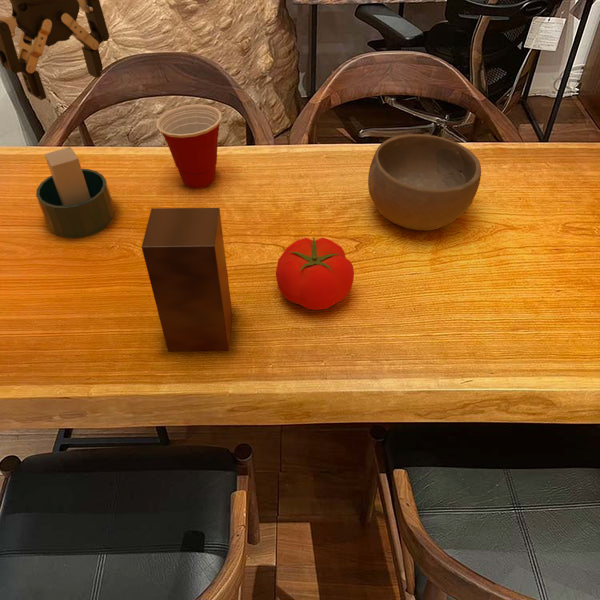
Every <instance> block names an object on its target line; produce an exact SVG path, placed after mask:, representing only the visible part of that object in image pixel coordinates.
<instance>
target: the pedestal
mask: <svg viewBox="0 0 600 600" xmlns="http://www.w3.org/2000/svg"><path fill="white" fill-rule="evenodd" d="M220 209H221V208H220V207H166V208H165V207H161V208H160V207H156V208H155V207H154V208H151V209H150V213H149V215H148V216H149V217H148V221H147V225H146V227H145V232H144V236H143V239H142V243H141V252H142V255H143V259H144V262H145V263H144V264H145V266H146V271H147V275H148V279H149V282H150V283H149V284H150V286H151V290H152V294H153V298H154V302H155V305H156V311H157V315H158V317H159V321H160V326H161V330H162V333H163V337H164V342H165V346H166V350H167V352H206V351H207V352H217V351H218V352H222V351H226V352H227V351H229V350H230V343H231V342H230V341H231V329H232V317H233V309H232V308H233V307H232V301H231V299H232V298H231V292H230V285H229V275H228V266H227V259H226V258H227V257H226V251H225V241H224V233H223V226H222V218H221V210H220Z"/></svg>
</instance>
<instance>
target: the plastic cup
mask: <svg viewBox="0 0 600 600" xmlns="http://www.w3.org/2000/svg"><path fill="white" fill-rule="evenodd" d="M221 122H222V112H221V111H220V110H219V109H218V108H217V107H214V106H211V105H207V104H188V105H182V106H178V107H176V108H172V109H169V110H168V111H166V112H164V113H162V114H161V116H159V118H158V119H157V120H156V125H155V127H156V128H157V130H158V131H159V133H161V135H162V136H163V138H164V140H165V142H166V144H167V146H168V149H169V152H170V155H171V158H172V159H173V162H174V164H175V167H176V168H177V170H178V173H179V177H180V179H181V181H182V183H183V184H184V185H185V186H186V187H188V188H191V189H203V188H206V187H207V188H208V187H209V186H210V185H212V184H213V183H214V181H216V173H217V171H216V170H217V163H218V144H219V143H218V142H219V131H220V124H221Z"/></svg>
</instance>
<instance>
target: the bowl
mask: <svg viewBox="0 0 600 600" xmlns="http://www.w3.org/2000/svg"><path fill="white" fill-rule="evenodd" d="M481 177H482V166H481V162H480V160H479V159H478V157H477V156H476V155H475V154H474V153H473V151H471V150H470V149H468V148H467V147H465V146H464V145H462V144H461V143H458V142H456V141H454V140H451V139H448V138H446V137H441V136H437V135H433V134H421V133H412V134H411V133H408V134H400V135H396V136H392V137H390V138H388V139H386V140H384V141H383V142H382V143H380V145H379V146H378V147H377V149H376V150H375V152H374V155H373V157H372V160H371V164H370V166H369V171H368V177H367V185H368V186H367V187H368V192H369V196H370V199H371V201H372V203H373V204H374V207H375V208H376V209H377V211H378V212H379V213H380V215H382V216H383V217H384V218H385V219H386V220H388V221H390V222H391V223H393V224H395V225H397V226H400V227H403V228H405V229H409V230H415V231H434V230H437V229H440V228H444V227H446V226H448V225H450V224H451V223H453V222H454V221H456V220H457V219H458V218H460V217H461V216H462V215H463V214H464V213H465V212H466V211H467V210H468V208H470V206H471V205H472V204H473V200H474V199H475V197H476V195H477V193H478V190H479V186H480V183H481Z"/></svg>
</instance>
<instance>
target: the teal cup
mask: <svg viewBox="0 0 600 600" xmlns="http://www.w3.org/2000/svg"><path fill="white" fill-rule="evenodd" d="M81 169H82V172H83V175H84V179H85V182H86V185H87V188H88V191H89V195H90V198H91V199H89V200H88V201H86V202H83V203H80V204H76V205H70V206H63V205H62V203H61V200H60V197H59V194H58V191H57V188H56V186H55V183H54V180H53V177H52V175H49V176H48V177H46V178H45V179H44V180H43V181H41V182H40V183H39V185H38V187H37V188H36V193H35V195H36V196H35V197H36V199H37V202H38V204H39V206H40V209H41V212H42V214H43V217H44V219H45V222H46V224H47V226H48V228H49V230H50V231H51V232H52V233H53V234H54V235H56V236H58V237H61V238H65V239H81V238H86V237H89V236H94V235H96V234H98V233H100V232H102V231H103V230H105V229H106V228H108V227H109V225H110V224H111V223H112V222H113V220H114V218H115V207H114V203H113V199H112V196H111V193H110V189H109V185H108V182H107V179H106V178H105V176H104V174H102V173H100V171H99V172H98V171H97V170H93V169H90V168H81Z"/></svg>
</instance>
